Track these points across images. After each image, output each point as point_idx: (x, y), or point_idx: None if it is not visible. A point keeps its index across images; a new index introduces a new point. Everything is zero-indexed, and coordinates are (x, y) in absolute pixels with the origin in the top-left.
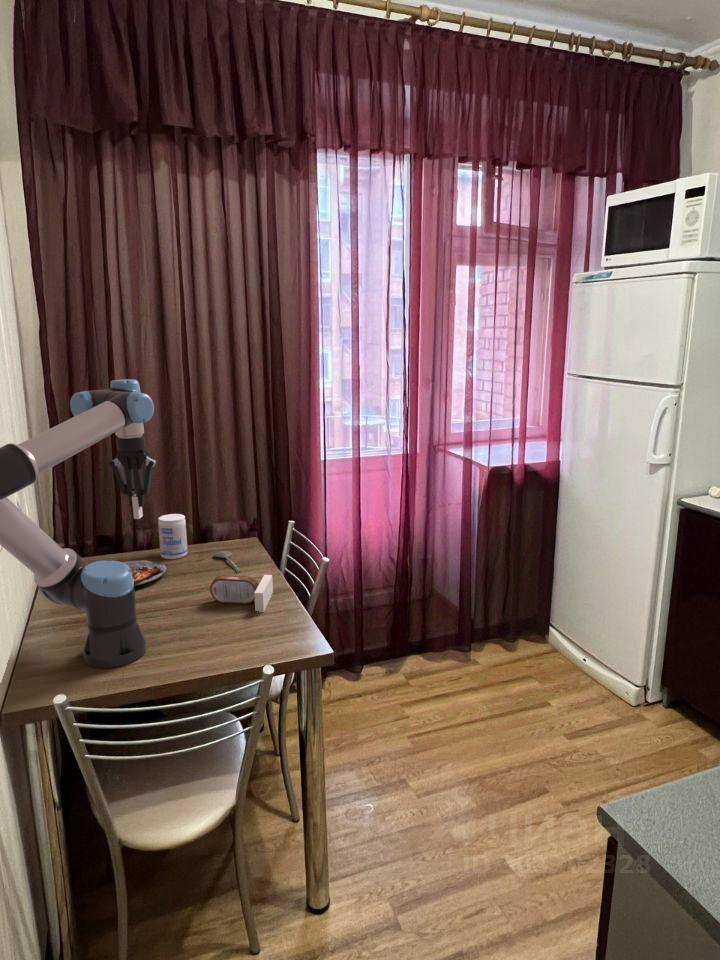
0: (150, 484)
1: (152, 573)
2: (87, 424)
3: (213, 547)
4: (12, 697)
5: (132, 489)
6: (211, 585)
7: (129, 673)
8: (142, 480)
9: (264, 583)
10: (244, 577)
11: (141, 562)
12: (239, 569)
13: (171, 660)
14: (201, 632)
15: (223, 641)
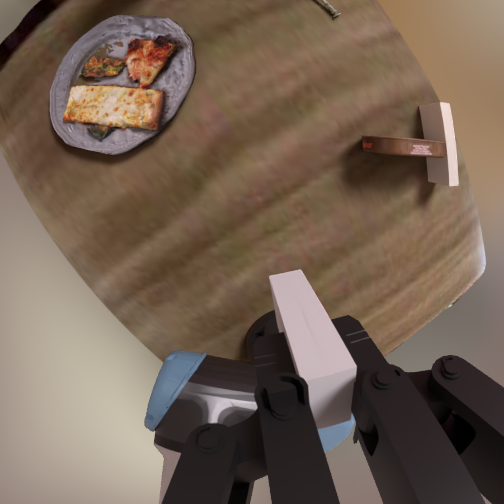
0: (502, 403)
1: (166, 58)
2: None
3: None
4: None
5: (295, 448)
6: (376, 153)
7: None
8: (461, 480)
9: (451, 143)
10: (436, 146)
11: (111, 24)
12: (339, 13)
13: None
14: (378, 261)
15: (409, 276)
